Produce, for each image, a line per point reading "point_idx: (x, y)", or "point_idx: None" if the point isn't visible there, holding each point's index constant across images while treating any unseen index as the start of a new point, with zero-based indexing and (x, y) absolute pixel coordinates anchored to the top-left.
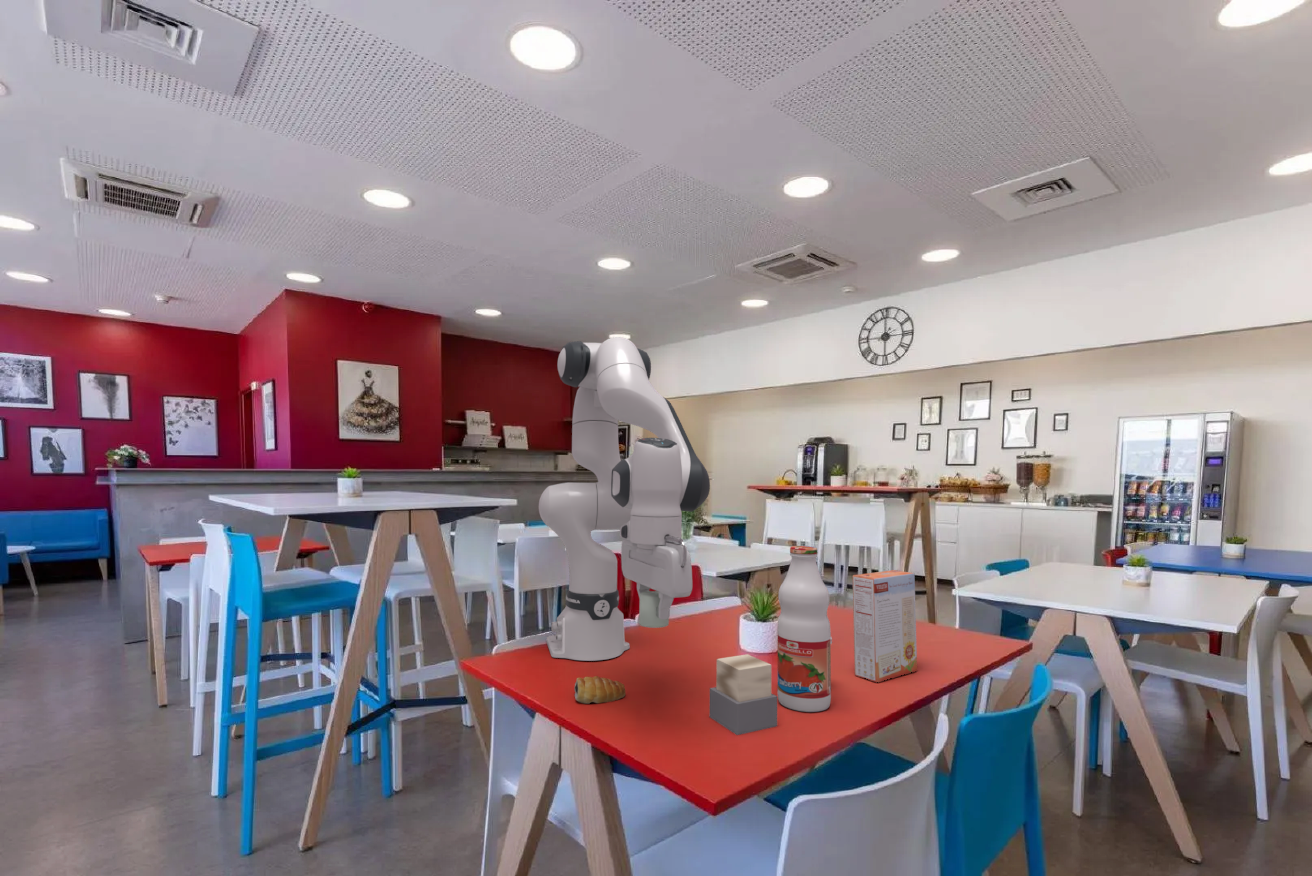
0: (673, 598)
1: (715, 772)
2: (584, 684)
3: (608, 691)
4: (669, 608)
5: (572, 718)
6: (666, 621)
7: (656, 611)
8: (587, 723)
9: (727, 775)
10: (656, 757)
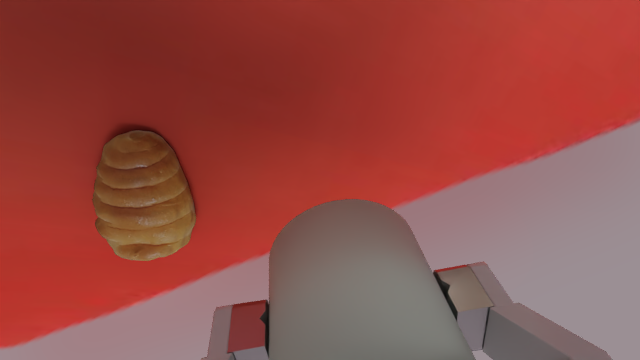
0: (608, 355)
1: (600, 63)
2: (163, 244)
3: (178, 187)
4: (509, 300)
5: (266, 248)
6: (412, 235)
7: None
8: None
9: (624, 44)
10: (488, 147)
